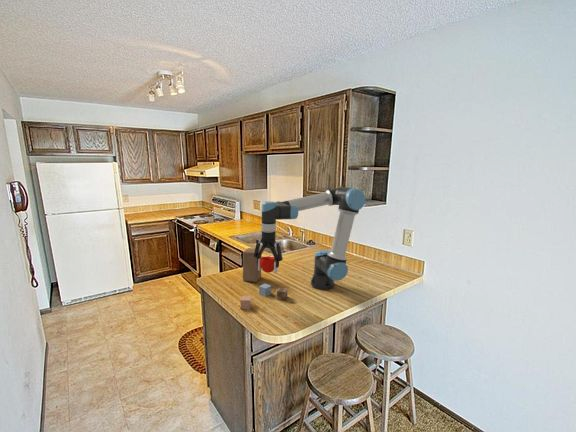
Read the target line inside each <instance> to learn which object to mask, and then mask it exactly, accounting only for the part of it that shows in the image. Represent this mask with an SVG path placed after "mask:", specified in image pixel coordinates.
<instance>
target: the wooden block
mask: <svg viewBox="0 0 576 432" xmlns="http://www.w3.org/2000/svg"><path fill="white" fill-rule="evenodd" d="M260 250H261V248H259V251H260ZM254 252H255V248H253V247H252V248H251V247H248V248H246V249H245V250H244V251H243V252H242V281H243V282H253V283H257V282H258V281H259V280H260V279H261V277H262V269H261V270H258V264H257V258H256V257H254ZM258 253H259V252H258ZM260 258H262V256H261V257H260Z"/></svg>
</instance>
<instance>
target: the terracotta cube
mask: <svg viewBox="0 0 576 432" xmlns="http://www.w3.org/2000/svg"><path fill="white" fill-rule="evenodd" d="M251 306H252V295H241V297H240V309H241V308H244V309H243V310H251Z"/></svg>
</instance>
